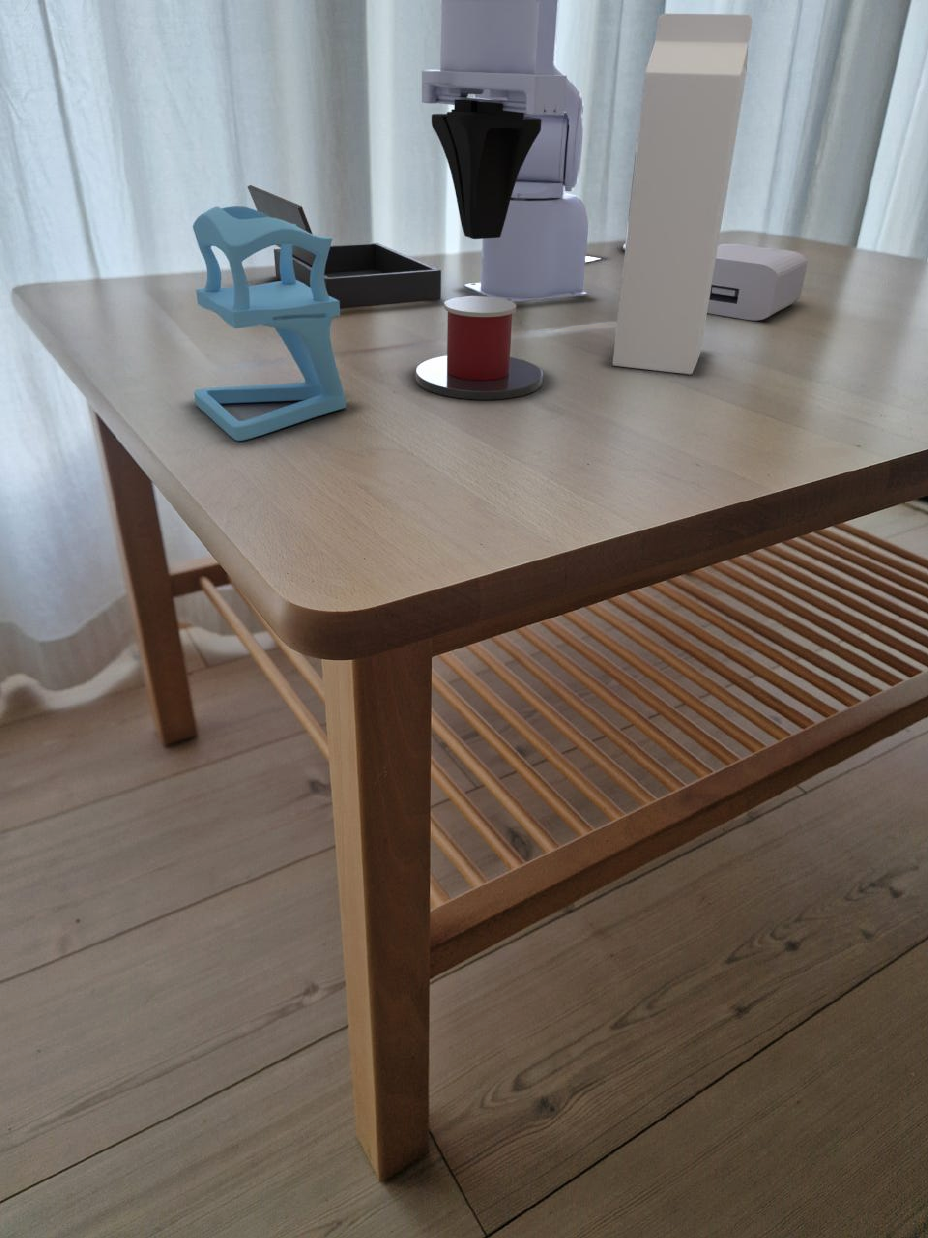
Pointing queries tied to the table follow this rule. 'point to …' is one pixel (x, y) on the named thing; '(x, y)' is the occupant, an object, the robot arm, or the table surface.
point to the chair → (270, 317)
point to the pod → (479, 337)
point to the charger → (755, 281)
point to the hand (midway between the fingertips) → (482, 236)
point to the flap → (283, 216)
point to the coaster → (515, 384)
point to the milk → (680, 188)
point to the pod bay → (371, 276)
